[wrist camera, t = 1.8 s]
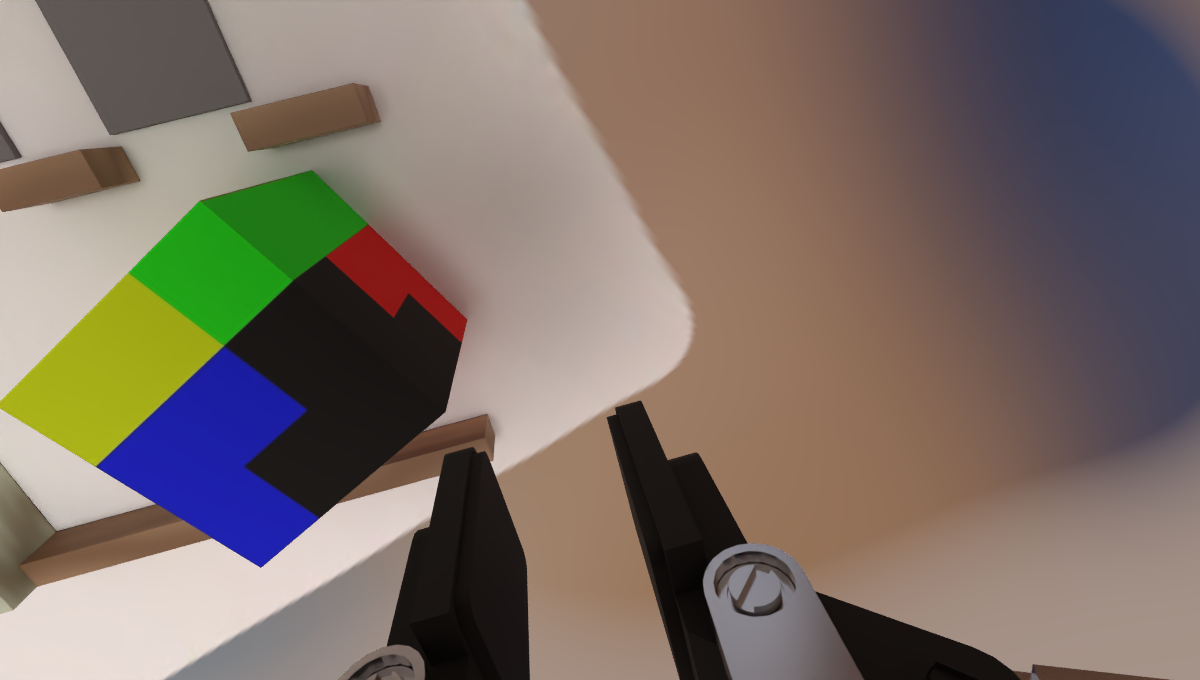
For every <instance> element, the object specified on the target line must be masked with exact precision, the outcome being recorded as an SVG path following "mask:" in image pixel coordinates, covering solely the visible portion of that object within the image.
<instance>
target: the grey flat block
mask: <svg viewBox="0 0 1200 680" xmlns="http://www.w3.org/2000/svg"><path fill="white" fill-rule="evenodd" d="M17 158H21V156H20V154H19V152H18V151H17V149H16V148H15V146H14V144H13V143H12V141H11V140H10V138H9V136H8V135H7V133H6V132H5V130H4V128H3V127H2V125H1V124H0V162H4V161H8V160H12V159H17Z"/></svg>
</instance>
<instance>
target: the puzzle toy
mask: <svg viewBox="0 0 1200 680" xmlns="http://www.w3.org/2000/svg"><path fill="white" fill-rule="evenodd" d="M466 323H467V319H466V318H465V317H464V316H463V315H462V314H461V313H460V312H459V311H458V310H456V309H455V308H454V307H453V306H452V305H451V304H450V303H449V302H448V301H447V300H446V299H445V298H444V297H443V296H442V295H441V294H440V293H439V292H438V291H437V290H436V289H435V288H434V287H433V286H432V285H431V284H430V283H428V282H427V281H426V280H425V279H424V278H423V277H422V276H421V275H420V274H419V273H418V272H417V271H416V270H415V269H414V268H413V267H412V266H411V265H410V264H409V263H408V262H407V261H406V260H405V259H404V258H403V257H401V256H400V255H399V254H398V253H397V252H396V251H395V250H394V249H393V248H392V247H391V246H390V245H389V244H388V243H387V242H386V241H385V240H384V239H383V238H382V237H381V236H380V235H379V234H378V233H377V232H376V231H374V230H373V229H372V228H371V227H370V226H369V225H368V224H367V223H366V222H365V221H364V220H363V219H362V218H361V217H360V216H359V215H358V214H357V213H356V212H355V211H354V210H353V209H352V208H351V207H350V206H349V205H348V204H346V203H345V202H344V201H343V200H342V199H341V198H340V197H339V196H338V195H337V194H336V193H335V192H334V191H333V190H332V189H331V188H330V187H329V186H328V185H327V184H326V183H325V182H324V181H323V180H322V179H321V178H319V177H318V176H317V175H316V174H315V173H314V172H313V171H312V170H311V171H307V172H304V173H300V174H296V175H293V176H289V177H285V178H282V179H278V180H274V181H271V182H267V183H263V184H260V185H256V186H252V187H249V188H245V189H241V190H238V191H234V192H230V193H227V194H223V195H219V196H216V197H212V198H208V199H205V200H201V201H199V202H198V203H197V204H196V205H195V206H194V207H193V208H192V209H191V210H190V211H189V212H188V213H187V214H186V215H185V216H184V217H183V218H182V219H181V220H180V221H179V222H178V223H177V224H176V225H175V226H174V227H173V228H172V229H171V230H170V231H169V232H168V233H167V234H166V235H165V236H164V237H163V238H162V239H161V240H160V241H159V242H158V243H157V244H156V245H155V246H154V247H153V248H152V249H151V250H150V251H149V252H148V253H147V254H146V255H145V256H144V257H143V258H142V259H141V260H140V261H139V263H138V264H137V265H136V266H135V267H134V268H133V269H132V270H131V271H130V272H129V273H128V274H127V275H126V276H125V277H124V278H123V279H122V280H121V281H120V282H119V283H118V284H117V285H116V286H115V287H114V288H113V289H112V290H111V291H110V292H109V293H108V294H107V295H106V296H105V297H104V298H103V299H102V300H101V301H100V302H99V303H98V304H97V305H96V306H95V307H94V308H93V309H92V310H91V311H90V312H89V313H88V314H87V315H86V316H85V317H84V318H83V319H82V320H81V321H80V322H79V323H78V324H77V325H76V326H75V327H74V328H73V329H72V330H71V331H70V332H69V333H68V334H67V335H66V336H65V337H64V338H63V339H62V340H61V341H60V342H59V343H58V344H57V345H56V346H55V347H54V348H53V349H52V350H51V351H50V352H49V353H48V354H47V355H46V356H45V357H44V358H43V359H42V360H41V361H40V362H39V363H38V364H37V365H36V366H35V367H34V368H33V369H32V370H31V371H30V372H29V373H28V374H27V375H26V376H25V377H24V378H23V379H22V380H21V381H20V382H19V383H18V384H17V385H16V386H15V387H14V388H13V389H12V390H11V391H10V392H9V393H8V394H7V395H6V396H5V397H4V398H3V399H2V400H1V401H0V409H2V410H3V411H5V412H7V413H8V414H10V415H12V416H13V417H15V418H17V419H18V420H20V421H21V422H23V423H25V424H26V425H28V426H30V427H31V428H33V429H35V430H36V431H38V432H39V433H41V434H43V435H44V436H46V437H48V438H49V439H51V440H53V441H54V442H56V443H57V444H59V445H61V446H62V447H64V448H66V449H67V450H69V451H71V452H72V453H74V454H75V455H77V456H79V457H80V458H82V459H84V460H85V461H87V462H89V463H90V464H92V465H93V466H95V467H97V468H98V469H100V470H102V471H103V472H105V473H107V474H108V475H110V476H111V477H113V478H115V479H116V480H118V481H120V482H121V483H123V484H125V485H126V486H128V487H129V488H131V489H133V490H134V491H136V492H138V493H139V494H141V495H143V496H144V497H146V498H147V499H149V500H151V501H152V502H154V503H156V504H157V505H159V506H161V507H162V508H164V509H165V510H167V511H169V512H170V513H172V514H174V515H175V516H177V517H179V518H180V519H182V520H183V521H185V522H187V523H188V524H190V525H192V526H193V527H195V528H197V529H198V530H200V531H201V532H203V533H205V534H206V535H208V536H210V537H211V538H213V539H215V540H216V541H218V542H219V543H221V544H223V545H224V546H226V547H228V548H229V549H231V550H233V551H234V552H236V553H237V554H239V555H241V556H242V557H244V558H246V559H247V560H249V561H251V562H252V563H254V564H255V565H257V566H259V567H260V568H261V567H263V566H264V565H265V564H266V563H267V562H268V561H270V560H271V559H272V558H273V557H274V556H276V555H277V554H278V553H279V552H280V551H281V550H283V549H284V548H285V547H286V546H287V545H289V544H290V543H291V542H292V541H293V540H294V539H296V538H297V537H298V536H299V535H300V534H302V533H303V532H304V531H305V530H306V529H307V528H309V527H310V526H311V525H312V524H313V523H315V522H316V521H317V520H318V519H319V518H320V517H322V516H323V515H324V514H325V513H326V512H328V511H329V510H330V509H331V508H332V507H334V506H335V505H336V504H337V503H338V502H339V501H341V500H342V499H343V498H344V497H345V496H347V495H348V494H349V493H350V492H351V491H352V490H354V489H355V488H356V487H357V486H358V485H360V484H361V483H362V482H363V481H364V480H365V479H367V478H368V477H369V476H370V475H371V474H373V473H374V472H375V471H376V470H377V469H378V468H380V467H381V466H382V465H383V464H384V463H386V462H387V461H388V460H389V459H390V458H391V457H393V456H394V455H395V454H396V453H397V452H399V451H400V450H401V449H402V448H403V447H405V446H406V445H407V444H408V443H409V442H410V441H412V440H413V439H414V438H415V437H416V436H418V435H419V434H420V433H421V432H422V431H423V430H425V429H426V428H427V427H428V426H429V425H431V424H432V423H433V422H434V421H435V420H436V419H438V418H439V417H440V416H441V415H442V414H444V413H445V412H446V408H447V403H448V399H449V395H450V391H451V386H452V382H453V378H454V374H455V369H456V365H457V361H458V357H459V352H460V348H461V344H462V340H463V335H464V331H465V327H466Z"/></svg>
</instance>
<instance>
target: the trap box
mask: <svg viewBox="0 0 1200 680" xmlns="http://www.w3.org/2000/svg"><path fill="white" fill-rule="evenodd" d="M230 114H231V116H232V118H233V120H234V123H235V125H236V127H237V129H238V131H239V133H240V135H241V138H242V140H243V142H244V144H245V146H246V148H247V151H248V152H249V151H256V150H263V149H270V148H275V147H279V146H283V145H288V144H292V143H296V142H300V141H304V140H308V139H312V138H316V137H320V136H324V135H328V134H332V133H336V132H340V131H344V130H348V129H352V128H356V127H360V126H364V125H368V124H372V123H377V122H381V121H380V118H379V115H378V112H377V110H376V107H375V104H374V101H373V99H372V96H371V93H370V90H369V88H368V86H364V85H359V84H354V83H352V84H348V85H344V86H340V87H336V88H331V89H327V90H323V91H319V92H315V93H311V94H307V95H303V96H299V97H294V98H290V99H286V100H282V101H278V102H274V103H270V104H266V105H262V106H258V107H253V108H249V109H245V110H241V111H237V112H233V113H230ZM138 181H140V180H139V178H138V176H137V175H136V173H135V171H134V169H133V167H132V166H131V164H130V162H129V160H128V158H127V156H126V155H125V153H124V151H123V149H122V147H109V148H96V149H84V150H77V151H73V152H69V153H65V154H61V155H56V156H52V157H48V158H44V159H40V160H36V161H32V162H28V163H24V164H20V165H15V166H11V167H7V168H3V169H0V209H1V211H2V212H6V211H12V210H17V209H22V208H27V207H33V206H38V205H43V204H48V203H53V202H57V201H61V200H65V199H69V198H73V197H77V196H81V195H85V194H89V193H93V192H97V191H101V190H106V189H110V188H114V187H118V186H122V185H126V184H130V183H134V182H138ZM494 441H495V435H494V432H493V430H492V427H491V424H490V421H489V419H488V416H487V415H483V416H479V417H476V418H472V419H468V420H465V421H461V422H457V423H454V424H450V425H446V426H443V427H439V428H435V429H432V430H428V431H424V432H421V433H420V434H419V435H418V436H416V437H415V438H414V439H413V440H412V441H410V442H409V443H408V444H407V445H406V446H405V447H403V448H402V449H401V450H400V451H399V452H397V453H396V454H395V455H394V456H393V457H391V458H390V459H389V460H388V461H387V462H386V463H384V464H383V465H382V466H381V467H380V468H378V469H377V470H376V471H375V472H374V473H373V474H371V475H370V476H369V477H368V478H367V479H365V480H364V481H363V482H362V483H361V484H360V485H358V486H357V487H356V488H355V489H354V490H352V491H351V492H350V493H349V494H348V495H347V496H345V497H344V498H343V499H342V500H341V501H339V502H338V503H342V502H345V501H349V500H352V499H356V498H360V497H363V496H367V495H371V494H374V493H378V492H381V491H385V490H389V489H392V488H396V487H400V486H403V485H407V484H410V483H414V482H418V481H421V480H425V479H428V478H432V477H436V476H439V475H440V473H441V468H442V464H443V459H444V456H445V454H448V453H452V452H455V451H459V450H462V449H466V448H470V447H474V448H475V450H476V451H477V453H479V452H482V451H485V452H486V453H487V455H488V457H489V460H490V461H493V457H494ZM338 503H337V504H338ZM208 539H211V537H210V536H208V535H206V534H205V533H203V532H201V531H200V530H198V529H197V528H195V527H193V526H192V525H190V524H188V523H187V522H185V521H183V520H182V519H180V518H179V517H177V516H175V515H174V514H172V513H170V512H169V511H167V510H165V509H164V508H162V507H161V506H159V505H153V506H149V507H146V508H142V509H138V510H135V511H131V512H127V513H124V514H120V515H116V516H113V517H109V518H105V519H102V520H98V521H94V522H91V523H87V524H83V525H80V526H76V527H72V528H68V529H65V530H61V531H57V532H56V531H55V530H54V529H53V528H52V526H51V525H50V524H49V523H48V522H47V520H46V519H45V518H44V517H43V515H42V514H41V513H40V512H39V511H38V509H37V508H36V507H35V506H34V504H33V503H32V502H31V501H30V500H29V498H28V497H27V496H26V495H25V493H24V492H23V491H22V490H21V488H20V487H19V486H18V485H17V484H16V482H15V481H14V480H13V479H12V477H11V476H10V475H9V474H8V473H7V471H6V470H5V469H4V468H3V466H2V465H1V464H0V614H2V613H5V612H9V611H12V610H14V609H15V608H16V607H17V606H18V605H19V604H20V603H21V602H22V601H23V600H24V599H25V598H26V597H27V596H28V595H29V594H30V593H31V592H32V591H33V590H34V589H35V588H36V587H38V586H41V585H45V584H48V583H52V582H56V581H59V580H63V579H67V578H70V577H74V576H77V575H81V574H85V573H88V572H92V571H96V570H99V569H103V568H106V567H110V566H114V565H117V564H121V563H124V562H128V561H132V560H135V559H139V558H143V557H146V556H150V555H153V554H157V553H161V552H164V551H168V550H172V549H175V548H179V547H182V546H186V545H190V544H193V543H197V542H200V541H204V540H208Z"/></svg>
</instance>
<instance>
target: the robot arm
mask: <svg viewBox="0 0 1200 680" xmlns="http://www.w3.org/2000/svg"><path fill="white" fill-rule="evenodd" d="M615 410H616V414H617V415H613V416H610V417H607V420H608V424H609V428H610V432H611V436H612V439H613V443H614V446H615V450H616V455H617V459H618V462H619V466H620V470H621V474H622V478H623V481H624V485H625V489H626V493H627V497H628V501H629V505H630V509H631V512H632V516H633V520H634V524H635V527H636V531H637V534H638V538H639V541H640V545H641V548H642V551H643V555H644V559H645V562H646V566H647V569H648V572H649V575H650V579H651V582H652V586H653V590H654V593H655V596H656V600H657V603H658V606H659V610H660V614H661V617H662V620H663V624H664V627H665V631H666V634H667V638H668V641H669V644H670V647H671V651H672V655H673V658H674V662H675V665H676V668H677V672H678V675H679V679H680V680H1168V679H1159V678H1150V677H1141V676H1132V675H1123V674H1114V673H1105V672H1097V671H1088V670H1079V669H1070V668H1062V667H1053V666H1044V665H1034V664H1033V665H1032V673H1027V672H1019V671H1012V670H1011V669H1009V668H1008V667H1007V666H1005V665H1004V664H1003V663H1001V662H1000V661H998V660H997V659H996V658H994V657H993V656H990V655H988V654H986V653H984V652H982V651H980V650H978V649H976V648H973V647H971V646H968V645H965V644H962V643H960V642H957V641H954V640H951V639H948V638H945V637H943V636H940V635H937V634H934V633H931V632H928V631H926V630H922V629H920V628H917V627H914V626H912V625H908V624H906V623H903V622H900V621H897V620H895V619H892V618H889V617H886V616H883V615H880V614H878V613H874V612H872V611H869V610H866V609H864V608H860V607H858V606H855V605H852V604H849V603H847V602H844V601H841V600H838V599H835V598H833V597H829V596H827V595H824V594H821V593H818V592H816V591H815V590H814V589H813V587H812V585H811V583H810V581H809V580H808V578H807V576H806V574H805V572H804V571H803V569H802V568H801V567H800V565H799V564H798V563H797V562H796V560H795V559H794V558H793V557H791V556H790V555H788V554H787V553H785V552H784V551H782V550H780V549H777V548H775V547H772V546H769V545H763V544H755V543H750V544H748V543H747V542H746V540H745V538H744V536H743V534H742V532H741V531H740V529H739V527H738V525H737V523H736V521H735V520H734V518H733V516H732V514H731V512H730V510H729V508H728V507H727V505H726V503H725V501H724V499H723V497H722V496H721V494H720V492H719V490H718V488H717V486H716V485H715V483H714V481H713V480H712V477H711V475H710V473H709V472H708V470H707V468H706V466H705V464H704V463H703V461H702V459H701V457H700V456H699V454H698V453H692V454H688V455H685V456H681V457H678V458H675V459H671V460H667V458H666V456H665V454H664V451H663V449H662V447H661V444H660V442H659V440H658V438H657V435H656V433H655V431H654V429H653V427H652V424H651V422H650V420H649V417H648V415H647V413H646V411H645V408H644V406H643V404H642V402H641V401H637V402H633V403H630V404H626V405H623V406H619V407H616V408H615ZM527 593H528V592H527V565H526V559H525V555H524V551H523V548H522V545H521V543H520V540H519V537H518V535H517V532H516V530H515V527H514V524H513V521H512V519H511V516H510V513H509V511H508V508H507V505H506V503H505V500H504V498H503V495H502V492H501V489H500V487H499V484H498V481H497V479H496V476H495V473H494V471H493V468H492V465H491V463H490V460H489V457H488V455H487V453H486V452H485V451H482V452H479V453H477V451H476V450H475V448H474V447H470V448H466V449H462V450H459V451H455V452H452V453H448V454H445V456H444V459H443V464H442V468H441V473H440V478H439V483H438V488H437V492H436V497H435V502H434V507H433V512H432V516H431V521H430V526H429V527H428V528H424V529H421V530H418V531H417V532H416V533H415V534H414V537H413V540H412V544H411V548H410V552H409V556H408V561H407V565H406V569H405V573H404V577H403V581H402V585H401V590H400V594H399V598H398V602H397V606H396V610H395V614H394V618H393V623H392V627H391V631H390V635H389V639H388V643H387V647H382V648H380V649H378V650H376V651H374V652H371V653H369V654H367V655H366V656H364V657H363V658H361V659H360V660H359V661H357V662H356V663H354V664H353V665H352V666H351V667H350V668H349V669H348V670H347V671H346V672H345V673H344V674H343V675H342V676H341V677H340V678H339V679H338V680H530V673H529V672H530V670H529V631H528V596H527V595H528V594H527Z"/></svg>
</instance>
